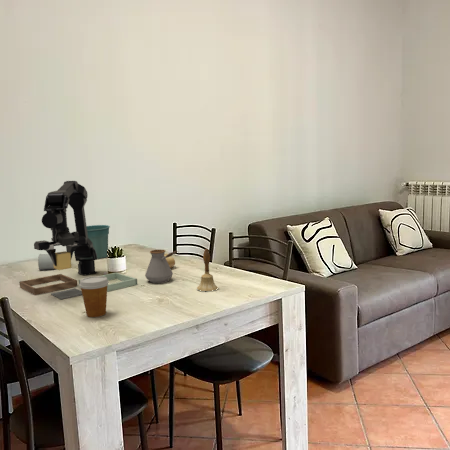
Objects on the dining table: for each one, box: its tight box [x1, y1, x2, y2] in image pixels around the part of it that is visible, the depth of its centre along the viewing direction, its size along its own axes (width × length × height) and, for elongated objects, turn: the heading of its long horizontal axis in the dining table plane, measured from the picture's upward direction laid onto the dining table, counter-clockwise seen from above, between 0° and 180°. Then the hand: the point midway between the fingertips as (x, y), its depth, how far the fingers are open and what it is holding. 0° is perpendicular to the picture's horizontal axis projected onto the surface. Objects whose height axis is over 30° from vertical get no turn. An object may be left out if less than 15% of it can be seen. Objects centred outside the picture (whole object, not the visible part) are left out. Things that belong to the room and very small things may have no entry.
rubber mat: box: [50, 287, 82, 300], centre depth 190 cm, size 10×10×1 cm
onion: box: [164, 253, 176, 269], centre depth 228 cm, size 8×8×7 cm
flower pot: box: [86, 224, 111, 260], centre depth 259 cm, size 16×16×16 cm
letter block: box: [53, 250, 72, 271], centre depth 190 cm, size 5×5×6 cm
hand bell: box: [196, 248, 219, 292], centre depth 190 cm, size 8×8×16 cm
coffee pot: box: [144, 249, 180, 284], centre depth 201 cm, size 21×12×15 cm, turn 37°
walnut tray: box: [19, 273, 79, 296], centre depth 202 cm, size 18×17×2 cm
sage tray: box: [78, 272, 138, 293], centre depth 201 cm, size 18×17×2 cm
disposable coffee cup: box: [78, 275, 110, 318], centre depth 163 cm, size 10×10×12 cm
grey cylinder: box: [37, 253, 54, 271], centre depth 236 cm, size 11×8×8 cm
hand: (62, 264), depth 190 cm, fingers closed on letter block, 5 cm apart
